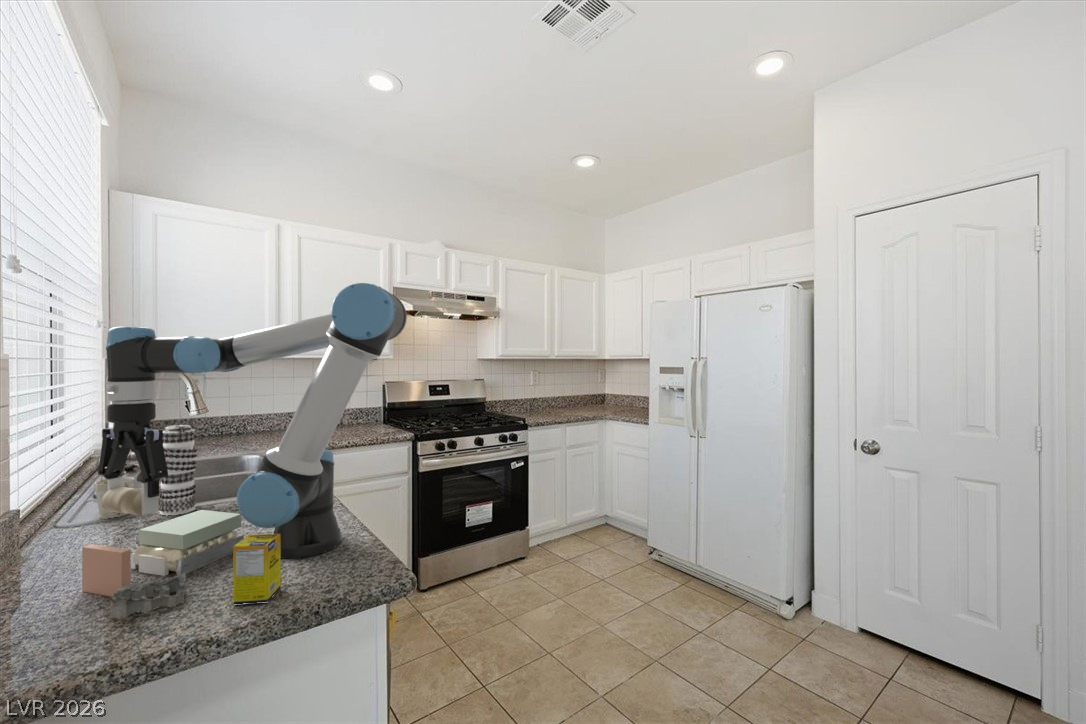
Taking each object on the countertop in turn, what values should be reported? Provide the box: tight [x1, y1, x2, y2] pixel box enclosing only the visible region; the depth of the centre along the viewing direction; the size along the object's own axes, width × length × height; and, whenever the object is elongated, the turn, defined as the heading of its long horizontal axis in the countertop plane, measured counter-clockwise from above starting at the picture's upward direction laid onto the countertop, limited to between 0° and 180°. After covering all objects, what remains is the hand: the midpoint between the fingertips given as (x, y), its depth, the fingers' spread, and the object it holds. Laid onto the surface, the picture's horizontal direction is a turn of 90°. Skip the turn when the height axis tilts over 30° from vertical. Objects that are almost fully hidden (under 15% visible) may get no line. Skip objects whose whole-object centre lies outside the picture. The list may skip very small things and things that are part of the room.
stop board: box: [81, 543, 131, 598], centre depth 90 cm, size 10×2×8 cm, turn 76°
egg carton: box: [108, 573, 187, 619], centre depth 86 cm, size 11×8×4 cm
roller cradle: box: [130, 554, 170, 584], centre depth 95 cm, size 7×8×4 cm
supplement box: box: [232, 533, 282, 605], centre depth 88 cm, size 6×6×11 cm
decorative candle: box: [158, 424, 198, 517], centre depth 138 cm, size 9×9×25 cm
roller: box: [102, 487, 161, 516], centre depth 97 cm, size 9×5×5 cm, turn 74°
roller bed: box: [130, 530, 245, 576], centre depth 105 cm, size 14×16×5 cm
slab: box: [138, 509, 242, 550], centre depth 106 cm, size 12×14×3 cm
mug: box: [94, 476, 135, 520], centre depth 135 cm, size 8×13×10 cm, turn 58°
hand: (132, 510), depth 97 cm, fingers closed on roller, 9 cm apart
